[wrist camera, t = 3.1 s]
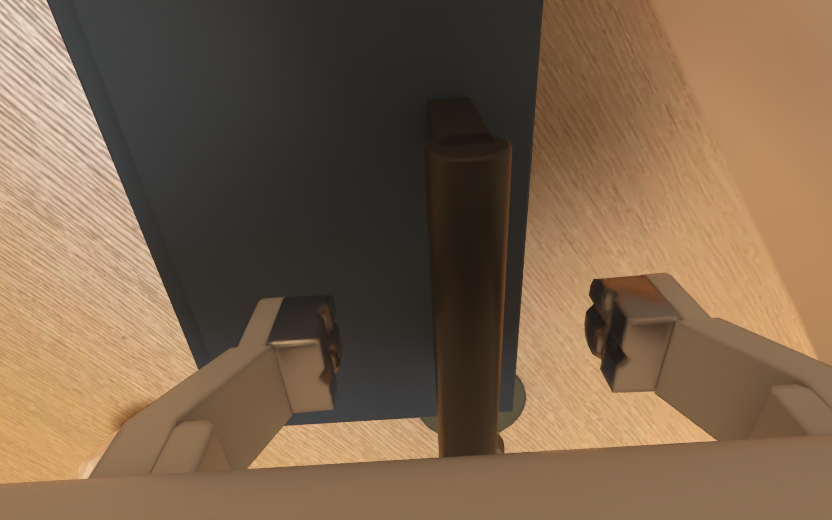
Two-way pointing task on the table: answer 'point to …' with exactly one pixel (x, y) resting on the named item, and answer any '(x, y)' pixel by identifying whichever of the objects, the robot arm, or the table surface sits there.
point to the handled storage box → (333, 180)
